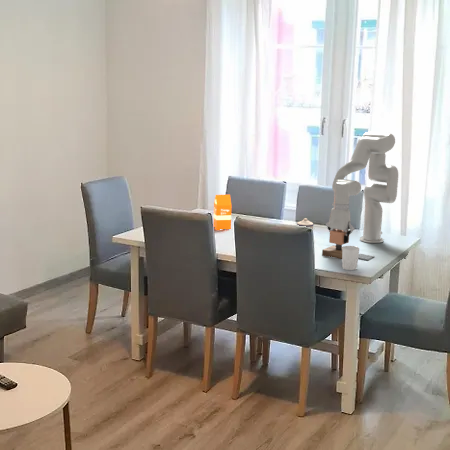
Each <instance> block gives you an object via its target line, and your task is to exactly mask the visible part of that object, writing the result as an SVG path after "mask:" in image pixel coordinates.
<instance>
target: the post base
mask: <svg viewBox="0 0 450 450" xmlns="http://www.w3.org/2000/svg"><path fill="white" fill-rule="evenodd" d="M342 247H343V245H339V244H334V245H331V246H328V247H326V248H323V249H322V252H321V256H322V257H328V258H332V259H333V258H334V259H338V260H342Z"/></svg>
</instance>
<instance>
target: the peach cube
mask: <svg viewBox="0 0 450 450" xmlns="http://www.w3.org/2000/svg"><path fill="white" fill-rule="evenodd" d="M344 235H345V233H344V231H343V230H337V229H335V230H331V231H330V232H329V239H328V240H329V243H331V244H334V245H336V244H339V245H342V246H343V245H346V244H348V243H349V241H350V238H349V239H348V243H344Z"/></svg>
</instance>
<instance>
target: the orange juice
mask: <svg viewBox="0 0 450 450" xmlns="http://www.w3.org/2000/svg"><path fill="white" fill-rule="evenodd" d="M232 208H233V207H232V199H231V194H215V197H214V202H213V228H214V227H215V228H214V229H215V231H221V230H220V229H231V230H232Z"/></svg>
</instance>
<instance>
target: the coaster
mask: <svg viewBox="0 0 450 450" xmlns="http://www.w3.org/2000/svg"><path fill="white" fill-rule="evenodd" d="M374 258H375V256H374V255H370V254H365V253H359V256H358V260H362V261H370V260H372V259H374Z"/></svg>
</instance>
